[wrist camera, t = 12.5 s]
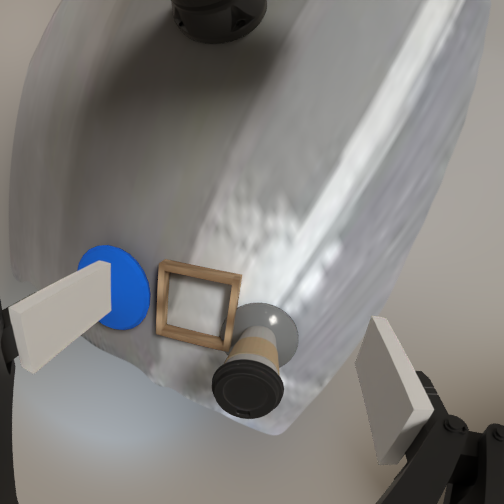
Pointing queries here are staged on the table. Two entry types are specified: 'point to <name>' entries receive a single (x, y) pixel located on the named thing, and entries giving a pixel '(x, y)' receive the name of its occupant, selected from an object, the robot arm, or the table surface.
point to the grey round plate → (270, 319)
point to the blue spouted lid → (122, 286)
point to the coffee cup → (250, 376)
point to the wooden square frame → (202, 273)
